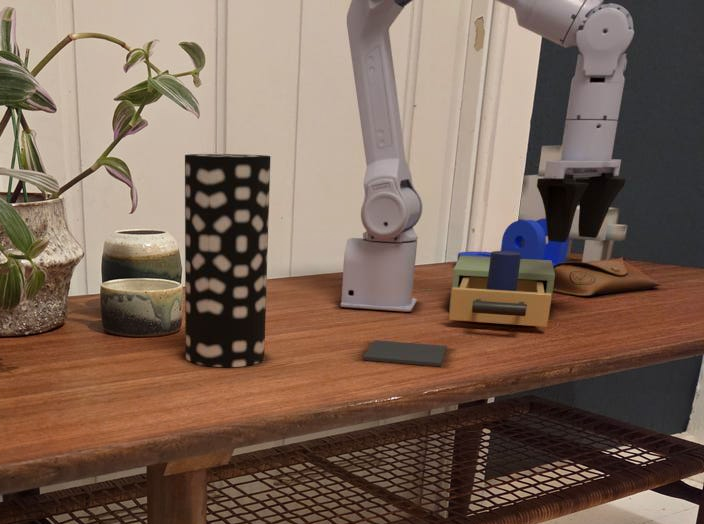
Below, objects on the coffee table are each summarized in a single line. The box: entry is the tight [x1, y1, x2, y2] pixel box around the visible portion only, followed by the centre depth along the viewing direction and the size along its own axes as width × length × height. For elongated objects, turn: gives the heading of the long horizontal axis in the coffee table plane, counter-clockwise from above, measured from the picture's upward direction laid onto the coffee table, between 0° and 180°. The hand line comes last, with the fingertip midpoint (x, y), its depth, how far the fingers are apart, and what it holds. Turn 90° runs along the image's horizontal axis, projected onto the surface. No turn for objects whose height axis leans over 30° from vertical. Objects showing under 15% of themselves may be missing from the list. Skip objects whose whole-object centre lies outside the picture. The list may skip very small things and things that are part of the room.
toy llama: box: [518, 145, 628, 262], centre depth 156 cm, size 8×18×20 cm, turn 49°
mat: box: [362, 339, 448, 368], centre depth 95 cm, size 8×8×1 cm
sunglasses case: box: [553, 256, 662, 297], centre depth 135 cm, size 18×7×7 cm
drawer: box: [448, 276, 552, 328], centre depth 109 cm, size 17×11×4 cm
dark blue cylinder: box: [487, 250, 521, 291], centre depth 110 cm, size 4×4×6 cm
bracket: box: [456, 218, 569, 266], centre depth 150 cm, size 18×8×9 cm, turn 36°
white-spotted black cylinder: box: [184, 153, 271, 368], centre depth 89 cm, size 8×8×20 cm
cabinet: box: [448, 256, 555, 319], centre depth 121 cm, size 14×13×6 cm
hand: (572, 239), depth 109 cm, fingers open, 7 cm apart
